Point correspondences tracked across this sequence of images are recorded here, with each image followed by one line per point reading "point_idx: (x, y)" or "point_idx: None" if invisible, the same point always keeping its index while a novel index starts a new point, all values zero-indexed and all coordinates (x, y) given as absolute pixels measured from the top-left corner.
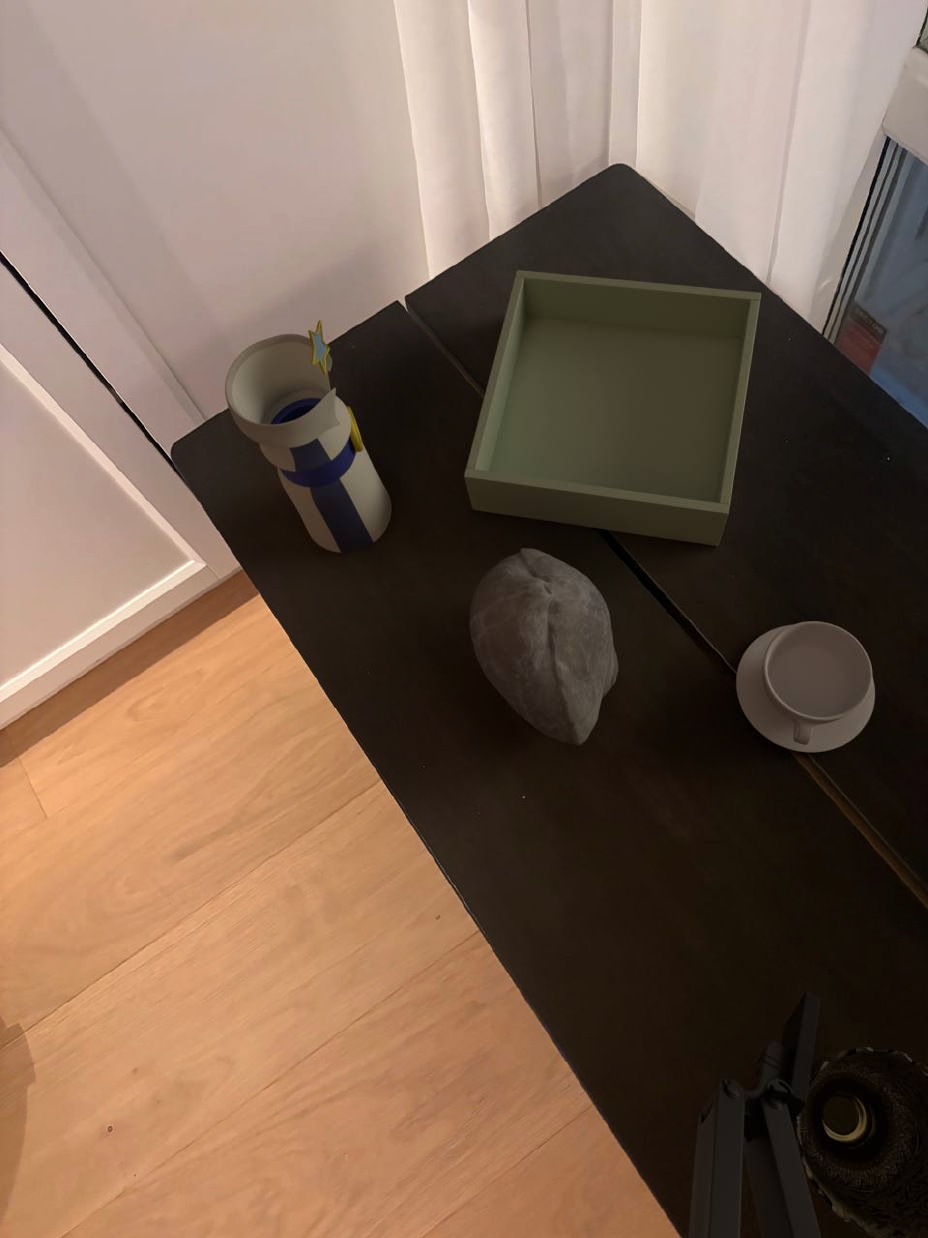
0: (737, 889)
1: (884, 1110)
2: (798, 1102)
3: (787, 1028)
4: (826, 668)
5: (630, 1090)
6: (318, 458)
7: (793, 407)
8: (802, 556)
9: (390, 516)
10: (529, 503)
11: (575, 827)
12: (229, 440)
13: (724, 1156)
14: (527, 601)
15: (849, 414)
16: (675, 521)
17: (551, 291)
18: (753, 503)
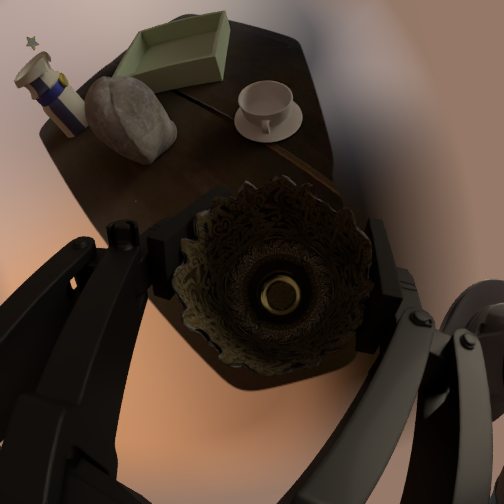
0: None
1: (307, 276)
2: (158, 244)
3: None
4: (276, 106)
5: (200, 334)
6: (44, 88)
7: (249, 40)
8: (260, 76)
9: None
10: None
11: (159, 207)
12: (50, 121)
13: (23, 292)
14: (96, 84)
15: (271, 39)
16: (197, 70)
17: (151, 33)
18: (236, 65)
